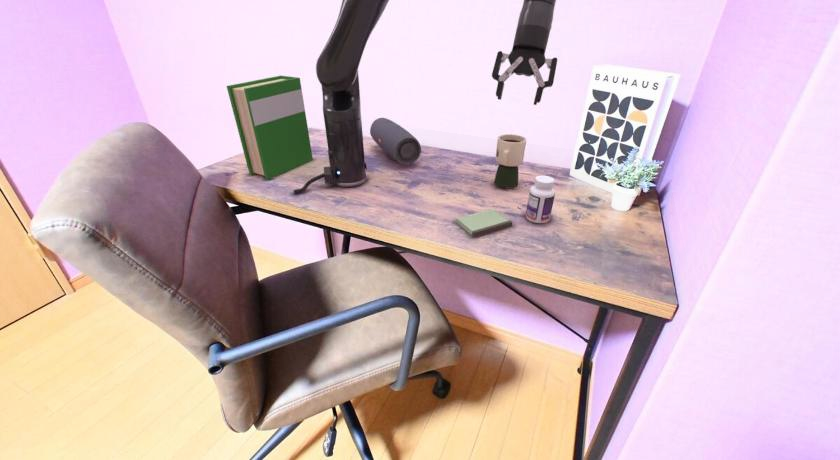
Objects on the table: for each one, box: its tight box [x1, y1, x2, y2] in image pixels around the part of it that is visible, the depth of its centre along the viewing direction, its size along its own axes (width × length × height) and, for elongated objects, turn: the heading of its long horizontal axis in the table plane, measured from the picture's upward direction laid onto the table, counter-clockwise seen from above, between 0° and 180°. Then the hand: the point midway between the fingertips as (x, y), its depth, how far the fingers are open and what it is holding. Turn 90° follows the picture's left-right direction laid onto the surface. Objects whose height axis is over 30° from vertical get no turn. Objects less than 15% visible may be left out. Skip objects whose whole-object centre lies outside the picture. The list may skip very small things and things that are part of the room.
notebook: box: [455, 208, 513, 238], centre depth 82 cm, size 10×7×1 cm
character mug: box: [493, 133, 527, 189], centre depth 96 cm, size 11×7×13 cm, turn 152°
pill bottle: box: [525, 175, 556, 224], centre depth 82 cm, size 5×5×10 cm
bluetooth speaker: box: [369, 117, 422, 166], centre depth 115 cm, size 23×9×10 cm, turn 25°
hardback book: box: [226, 75, 314, 181], centre depth 104 cm, size 18×7×24 cm, turn 150°
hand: (517, 101), depth 89 cm, fingers open, 8 cm apart
